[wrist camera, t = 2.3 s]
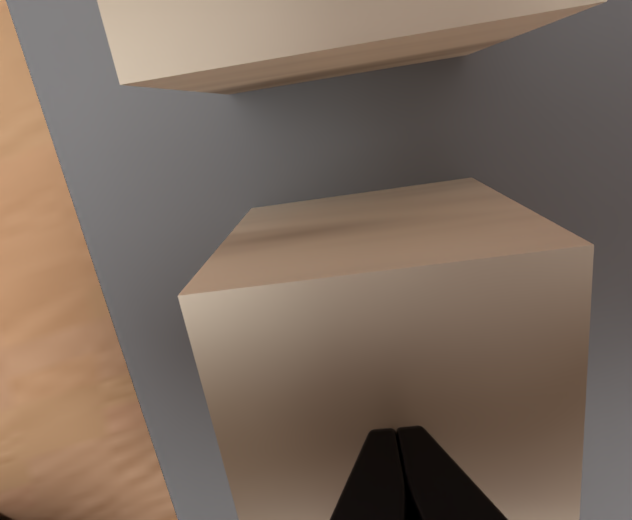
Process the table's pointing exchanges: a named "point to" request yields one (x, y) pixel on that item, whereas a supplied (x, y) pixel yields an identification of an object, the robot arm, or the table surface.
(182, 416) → the grey mat
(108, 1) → the two-pip block
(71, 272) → the table surface
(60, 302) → the table surface
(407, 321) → the plain block
